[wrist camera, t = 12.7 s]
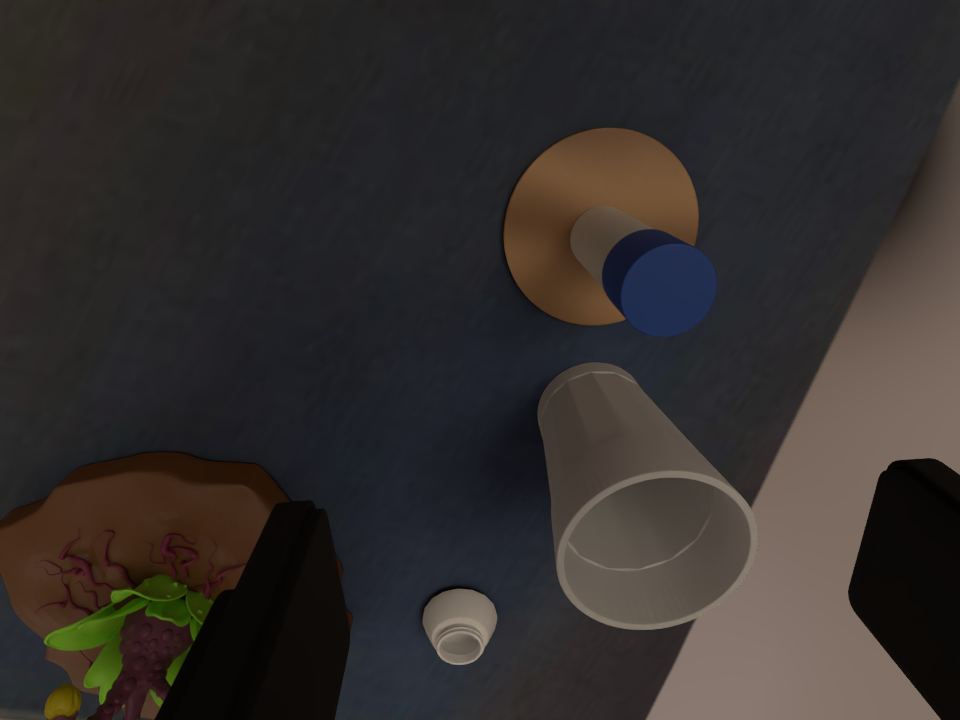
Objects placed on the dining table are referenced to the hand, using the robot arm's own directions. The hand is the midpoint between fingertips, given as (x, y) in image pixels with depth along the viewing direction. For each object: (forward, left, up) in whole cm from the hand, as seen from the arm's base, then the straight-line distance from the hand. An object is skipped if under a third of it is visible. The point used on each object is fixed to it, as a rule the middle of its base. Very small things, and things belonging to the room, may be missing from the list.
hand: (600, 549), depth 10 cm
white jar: (+25, -3, -22) cm, 33 cm away
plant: (+20, -21, -22) cm, 36 cm away
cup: (+9, +5, -22) cm, 24 cm away
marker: (-1, +5, -21) cm, 22 cm away
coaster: (-1, +5, -22) cm, 22 cm away
